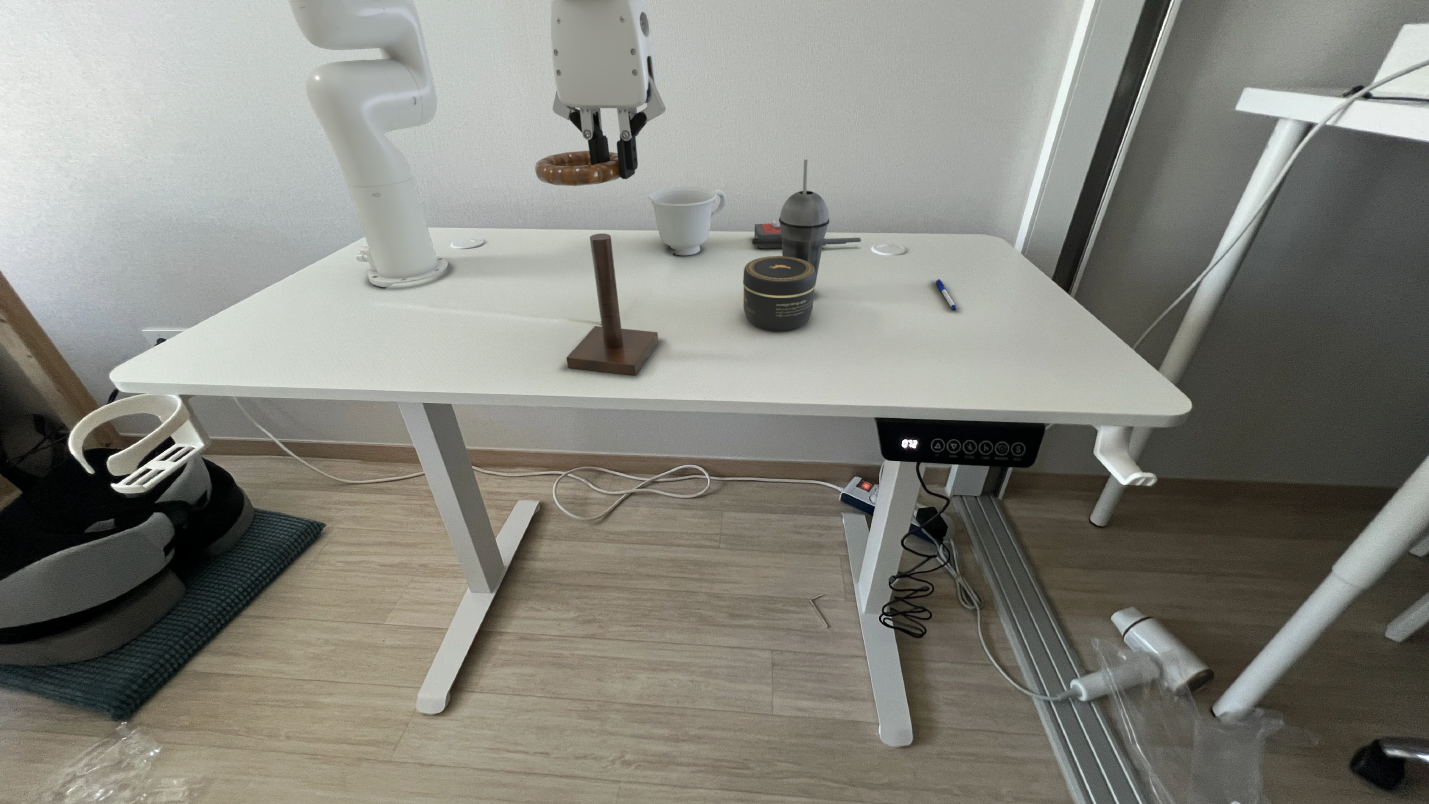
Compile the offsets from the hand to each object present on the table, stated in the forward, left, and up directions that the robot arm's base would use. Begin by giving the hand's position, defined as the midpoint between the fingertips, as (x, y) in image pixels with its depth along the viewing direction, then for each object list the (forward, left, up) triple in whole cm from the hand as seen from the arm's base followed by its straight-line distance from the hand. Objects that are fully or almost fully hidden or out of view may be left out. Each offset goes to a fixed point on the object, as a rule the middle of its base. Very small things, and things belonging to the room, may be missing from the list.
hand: (615, 174), depth 67 cm
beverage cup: (+20, +20, -22) cm, 36 cm away
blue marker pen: (+42, +24, -22) cm, 53 cm away
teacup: (-2, +37, -22) cm, 43 cm away
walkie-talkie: (+18, +44, -22) cm, 52 cm away
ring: (-4, 0, +1) cm, 4 cm away
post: (-1, -4, -22) cm, 22 cm away
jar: (+18, +11, -22) cm, 30 cm away
